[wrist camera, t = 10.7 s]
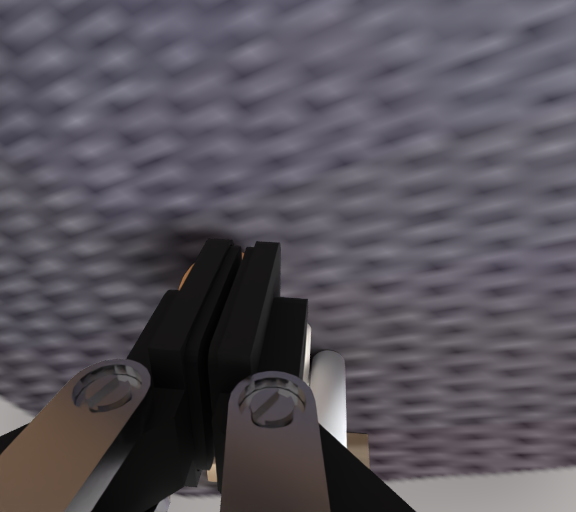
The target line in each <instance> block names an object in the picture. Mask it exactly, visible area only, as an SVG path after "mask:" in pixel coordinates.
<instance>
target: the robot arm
mask: <svg viewBox="0 0 576 512" xmlns="http://www.w3.org/2000/svg"><path fill="white" fill-rule="evenodd" d="M280 263H281V247H280V243H276V242H259V241H256V243H255V246H254V247H247V248H246V251H245V253H244V256H243V259H242V249H241V246H234V244H233V241H232V240H225V239H208V240H207V241H206V243H205V245H204V247H203V249H202V250H201V252H200V254H199V256H198V258H197V259H196V261H195V263H194V265H193V267H192V269H191V270H190V272H189V274H188V276H187V278H186V279H185V281H184V283H183V285H182V287H181V288H180V290H168V291H167V292H166V293H165V295H164V296H163V298H162V300H161V301H160V303H159V305H158V306H157V308H156V310H155V311H154V313H153V315H152V316H151V318H150V320H149V322H148V323H147V325H146V327H145V328H144V330H143V332H142V333H141V335H140V337H139V338H138V340H137V342H136V343H135V345H134V347H133V348H132V350H131V352H130V353H129V355H128V357H127V359H111V360H105V361H101V362H98V363H95V364H92V365H90V366H88V367H87V368H85V369H83V370H81V371H80V372H78V373H77V374H76V375H75V376H74V377H73V378H71V379H70V380H69V381H68V382H67V384H66V385H65V386H64V387H63V388H62V389H61V390H60V391H59V392H58V393H57V394H56V395H55V396H54V398H53V399H52V400H51V401H50V402H49V403H48V404H47V405H46V406H45V407H44V408H43V409H42V410H41V412H40V413H39V414H38V415H37V416H36V417H35V418H34V419H33V420H32V421H31V422H30V423H28V424H26V425H24V426H22V427H20V428H18V429H16V430H13V431H11V432H9V433H7V434H4V435H2V436H0V512H167V511H168V508H169V505H170V495H171V494H173V493H175V492H176V491H178V490H179V489H181V488H182V487H184V486H189V487H197V485H198V482H199V478H200V475H201V471H202V470H208V471H209V470H210V469H211V467H212V464H213V461H214V457H215V463H216V474H217V486H218V491H219V492H220V493H221V505H220V512H416V511H415V510H414V509H412V508H411V507H410V506H409V505H408V504H407V503H406V502H405V501H404V500H403V499H402V498H400V497H399V496H398V495H397V494H396V493H395V492H394V491H393V490H392V489H391V488H390V487H388V486H387V485H386V484H385V483H384V482H383V481H382V480H381V479H380V478H379V477H377V476H376V475H375V474H374V473H373V472H372V471H371V470H370V469H369V468H368V467H367V466H365V465H364V464H363V463H362V462H361V461H360V460H359V459H358V458H357V457H356V456H355V455H353V454H352V453H351V452H350V451H349V450H348V449H347V448H346V447H345V446H344V445H342V444H341V443H340V442H339V441H338V440H337V439H336V438H335V437H334V436H333V435H332V434H330V433H329V432H328V431H327V430H326V429H325V428H324V427H323V426H322V425H321V424H320V423H318V416H317V408H316V401H315V398H314V395H313V392H312V390H311V389H310V387H309V386H308V385H307V384H306V383H305V382H304V381H303V374H304V364H305V352H306V337H307V317H308V299H299V298H285V297H280Z"/></svg>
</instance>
